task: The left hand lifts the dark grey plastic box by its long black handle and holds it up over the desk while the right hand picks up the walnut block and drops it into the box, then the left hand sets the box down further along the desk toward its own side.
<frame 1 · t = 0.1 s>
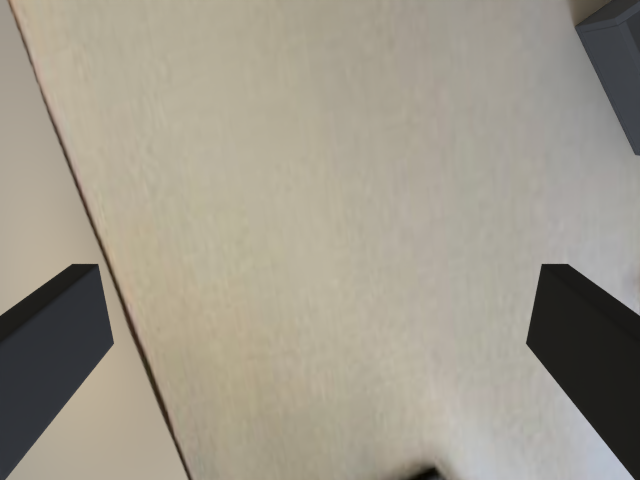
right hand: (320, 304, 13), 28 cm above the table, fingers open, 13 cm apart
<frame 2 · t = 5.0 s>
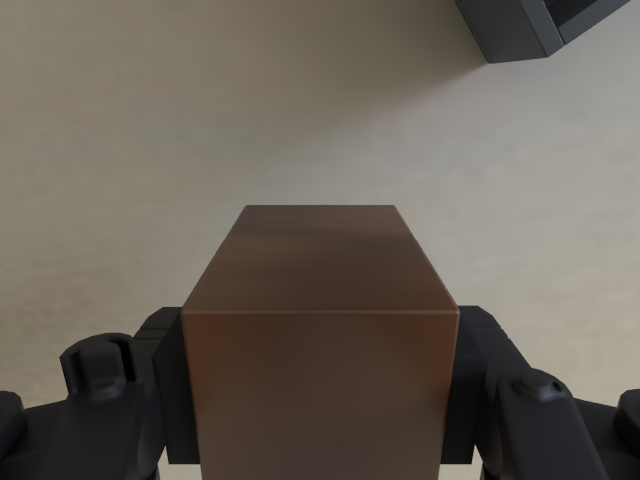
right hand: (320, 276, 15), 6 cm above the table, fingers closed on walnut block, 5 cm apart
walnut block: (320, 272, 15), point 6 cm above the table, touching right hand
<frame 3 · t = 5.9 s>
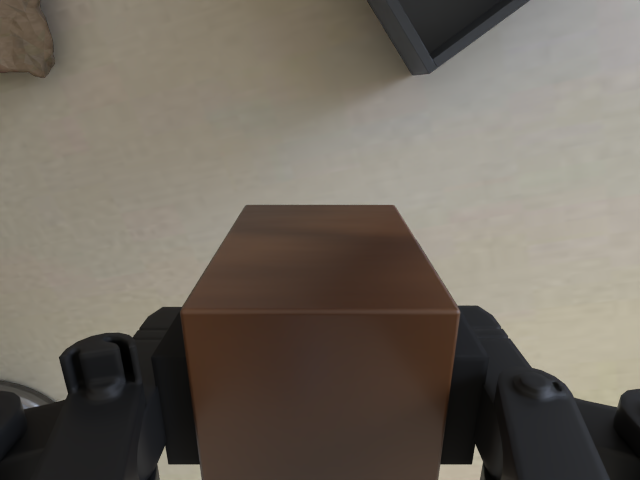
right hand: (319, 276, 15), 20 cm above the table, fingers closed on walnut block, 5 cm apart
walnut block: (319, 272, 15), point 20 cm above the table, touching right hand
when the right hand's fingers open (18 cm above the table, at t = 10.5 s): walnut block drops 4 cm and tips over, resting on grey box.
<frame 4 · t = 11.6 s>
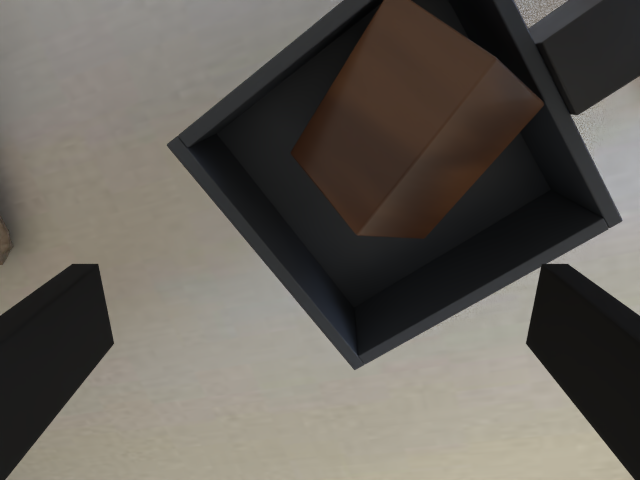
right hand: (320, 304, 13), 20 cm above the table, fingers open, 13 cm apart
walnut block: (359, 197, 18), point 14 cm above the table, tilted 80°, touching grey box
grey box: (384, 159, 22), point 9 cm above the table, touching left hand, walnut block
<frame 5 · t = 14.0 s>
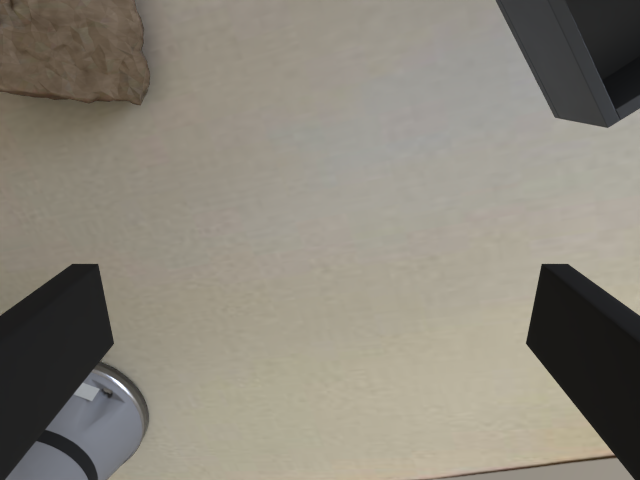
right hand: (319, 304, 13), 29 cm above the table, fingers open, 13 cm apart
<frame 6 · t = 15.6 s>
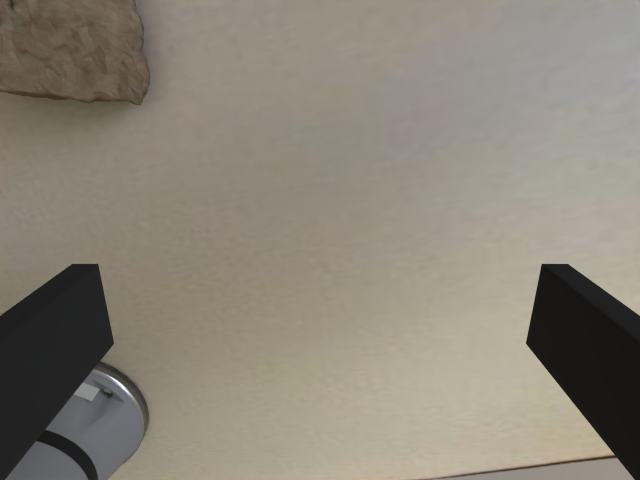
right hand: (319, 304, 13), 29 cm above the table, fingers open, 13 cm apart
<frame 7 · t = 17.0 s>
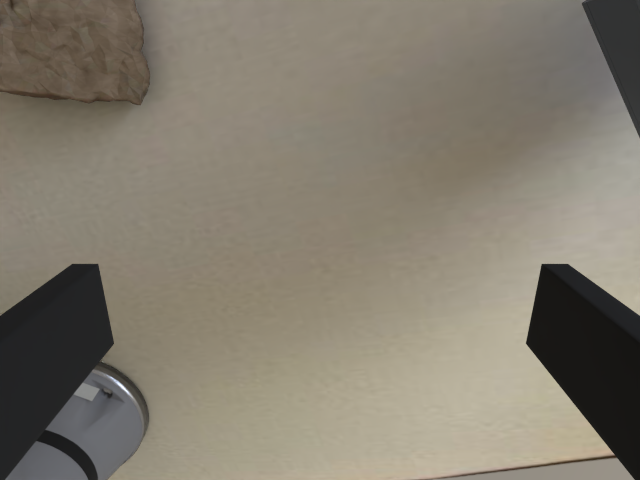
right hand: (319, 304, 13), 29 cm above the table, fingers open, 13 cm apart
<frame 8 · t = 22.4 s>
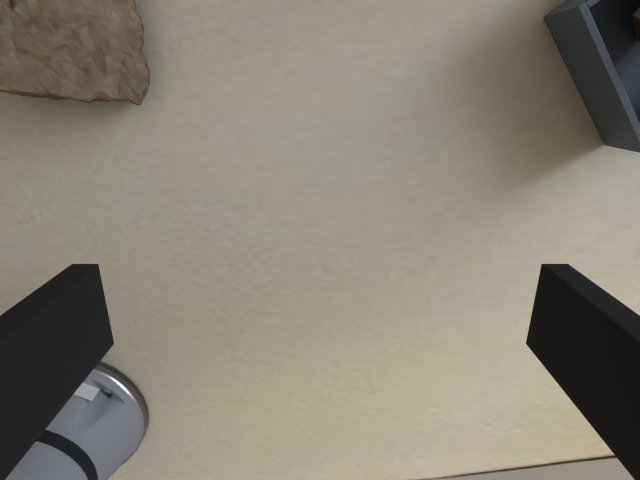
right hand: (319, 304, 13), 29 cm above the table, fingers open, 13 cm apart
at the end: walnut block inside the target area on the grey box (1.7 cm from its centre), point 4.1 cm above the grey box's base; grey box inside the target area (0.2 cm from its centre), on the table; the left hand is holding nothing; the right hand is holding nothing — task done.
